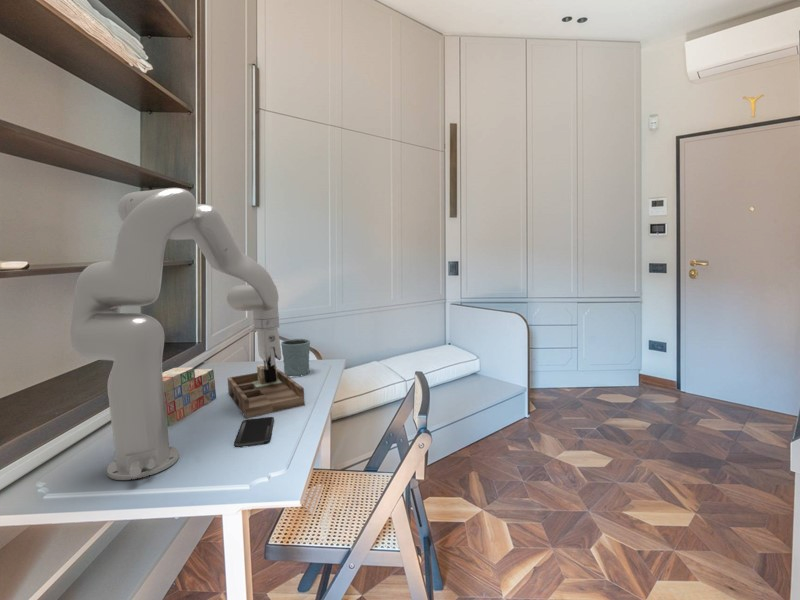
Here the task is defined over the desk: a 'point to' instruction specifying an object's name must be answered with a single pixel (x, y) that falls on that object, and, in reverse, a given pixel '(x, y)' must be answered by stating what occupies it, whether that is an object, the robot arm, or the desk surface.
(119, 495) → the desk surface
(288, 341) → the grey green pot
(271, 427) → the phone
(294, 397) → the wooden shelf
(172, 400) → the stack of blocks
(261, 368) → the maple block
